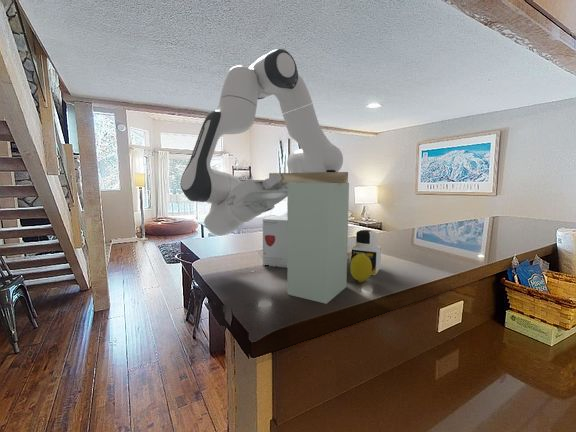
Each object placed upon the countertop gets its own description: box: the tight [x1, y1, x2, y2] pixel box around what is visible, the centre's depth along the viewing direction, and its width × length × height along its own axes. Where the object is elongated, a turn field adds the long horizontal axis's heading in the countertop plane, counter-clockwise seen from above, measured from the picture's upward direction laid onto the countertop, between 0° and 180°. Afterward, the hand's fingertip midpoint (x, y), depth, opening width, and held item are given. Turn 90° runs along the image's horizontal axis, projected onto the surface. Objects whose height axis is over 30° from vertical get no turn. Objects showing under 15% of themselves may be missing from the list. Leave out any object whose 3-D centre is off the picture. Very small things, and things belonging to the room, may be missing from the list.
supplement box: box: [262, 215, 287, 269], centre depth 94 cm, size 9×9×15 cm
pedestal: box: [286, 182, 350, 305], centre depth 69 cm, size 12×10×26 cm
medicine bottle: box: [350, 229, 382, 276], centre depth 86 cm, size 7×7×12 cm
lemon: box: [349, 253, 372, 283], centre depth 76 cm, size 6×6×8 cm
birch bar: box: [268, 171, 349, 183], centre depth 69 cm, size 2×20×2 cm, turn 58°
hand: (285, 176), depth 72 cm, fingers closed on birch bar, 2 cm apart
